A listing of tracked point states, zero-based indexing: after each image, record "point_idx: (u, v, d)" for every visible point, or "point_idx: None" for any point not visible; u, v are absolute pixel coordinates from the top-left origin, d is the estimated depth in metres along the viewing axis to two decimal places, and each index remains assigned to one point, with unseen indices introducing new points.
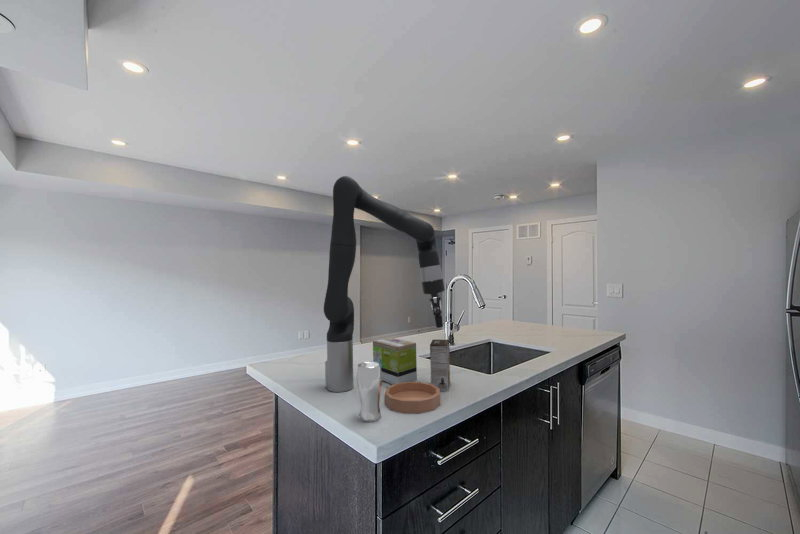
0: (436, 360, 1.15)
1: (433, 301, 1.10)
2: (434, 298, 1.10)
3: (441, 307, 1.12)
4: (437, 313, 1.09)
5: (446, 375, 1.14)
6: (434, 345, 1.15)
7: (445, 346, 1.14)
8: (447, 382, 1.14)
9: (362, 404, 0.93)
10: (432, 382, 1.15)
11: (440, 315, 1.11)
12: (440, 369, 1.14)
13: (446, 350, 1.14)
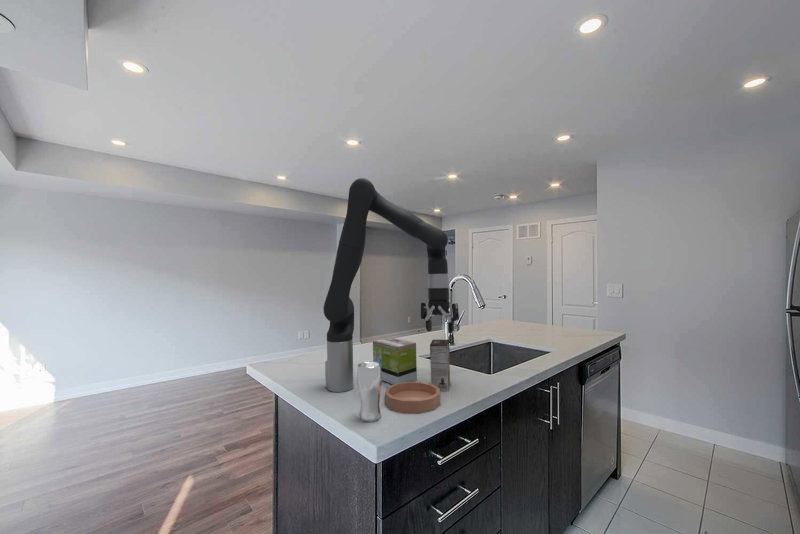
0: (436, 360, 1.15)
1: (455, 307, 1.15)
2: (455, 304, 1.15)
3: None
4: (457, 318, 1.15)
5: (446, 375, 1.14)
6: (434, 345, 1.15)
7: (445, 346, 1.14)
8: (447, 382, 1.14)
9: (362, 404, 0.93)
10: (432, 382, 1.15)
11: (453, 321, 1.17)
12: (440, 369, 1.14)
13: (446, 350, 1.14)
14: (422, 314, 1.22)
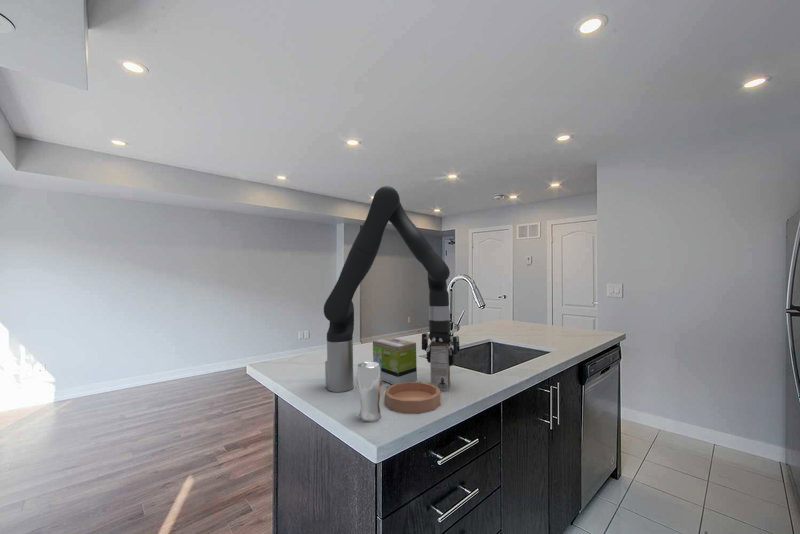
0: (436, 360, 1.15)
1: (456, 340, 1.15)
2: (456, 337, 1.15)
3: None
4: (458, 352, 1.15)
5: (446, 375, 1.14)
6: (434, 345, 1.15)
7: (445, 346, 1.14)
8: (447, 382, 1.14)
9: (362, 404, 0.93)
10: (432, 382, 1.15)
11: None
12: (440, 369, 1.14)
13: (446, 350, 1.14)
14: (423, 345, 1.22)
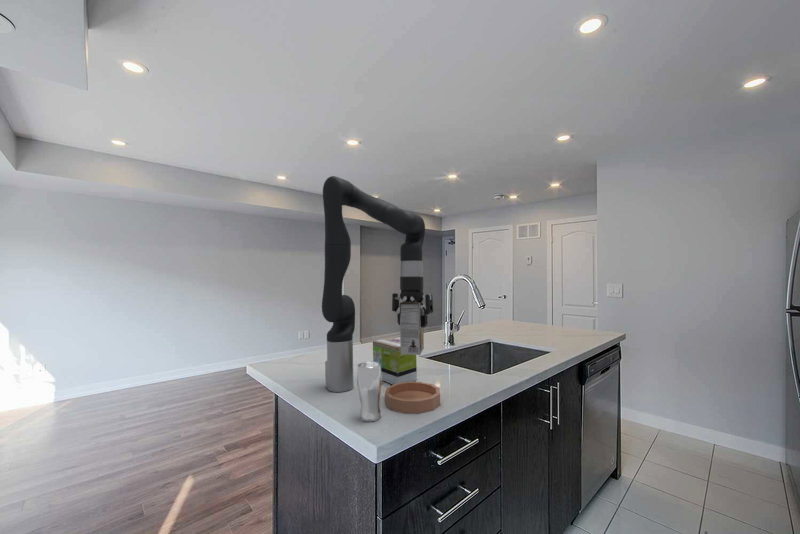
0: (407, 320, 1.02)
1: (429, 298, 1.02)
2: (430, 295, 1.03)
3: None
4: (431, 311, 1.03)
5: (417, 337, 1.02)
6: (404, 303, 1.03)
7: (416, 304, 1.02)
8: (418, 345, 1.02)
9: (362, 404, 0.93)
10: (402, 345, 1.03)
11: (427, 314, 1.04)
12: (411, 330, 1.02)
13: (417, 309, 1.02)
14: (393, 306, 1.09)
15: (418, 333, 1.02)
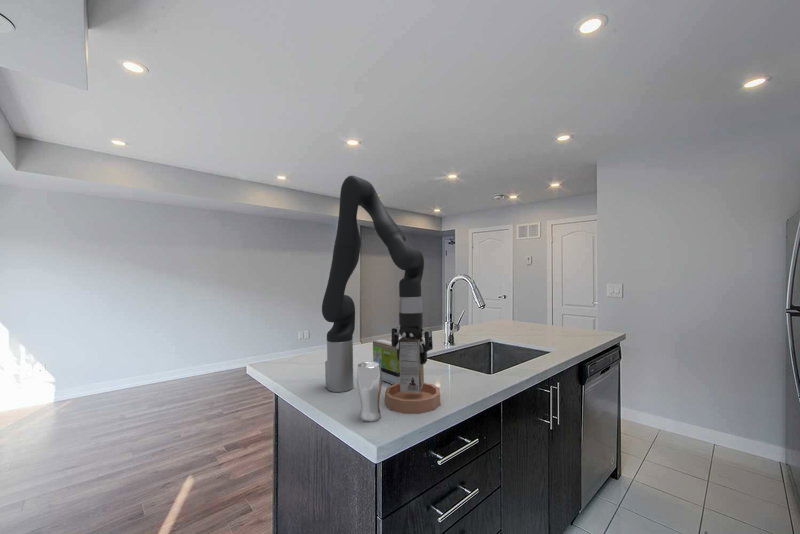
0: (406, 357, 1.01)
1: (428, 335, 1.01)
2: (429, 332, 1.02)
3: (424, 342, 1.05)
4: (430, 348, 1.02)
5: (417, 375, 1.01)
6: (403, 341, 1.02)
7: (415, 342, 1.01)
8: (418, 382, 1.01)
9: (362, 404, 0.93)
10: (401, 383, 1.02)
11: (426, 350, 1.03)
12: (410, 367, 1.01)
13: (417, 346, 1.01)
14: (393, 341, 1.08)
15: (417, 371, 1.01)
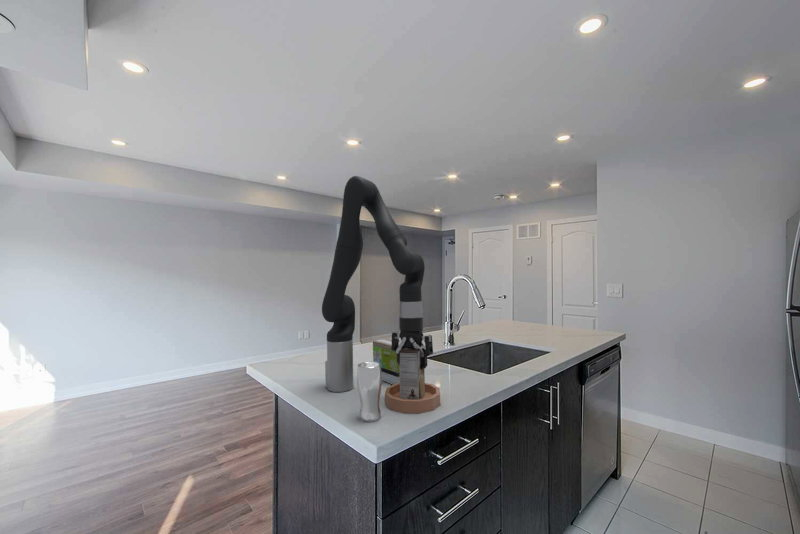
0: (406, 368, 1.01)
1: (429, 340, 1.01)
2: (429, 337, 1.02)
3: (424, 346, 1.05)
4: (430, 353, 1.02)
5: (416, 386, 1.01)
6: (403, 352, 1.02)
7: (415, 353, 1.01)
8: (418, 394, 1.01)
9: (362, 404, 0.93)
10: (401, 393, 1.02)
11: None
12: (410, 379, 1.01)
13: (416, 358, 1.01)
14: (393, 345, 1.08)
15: (417, 382, 1.01)
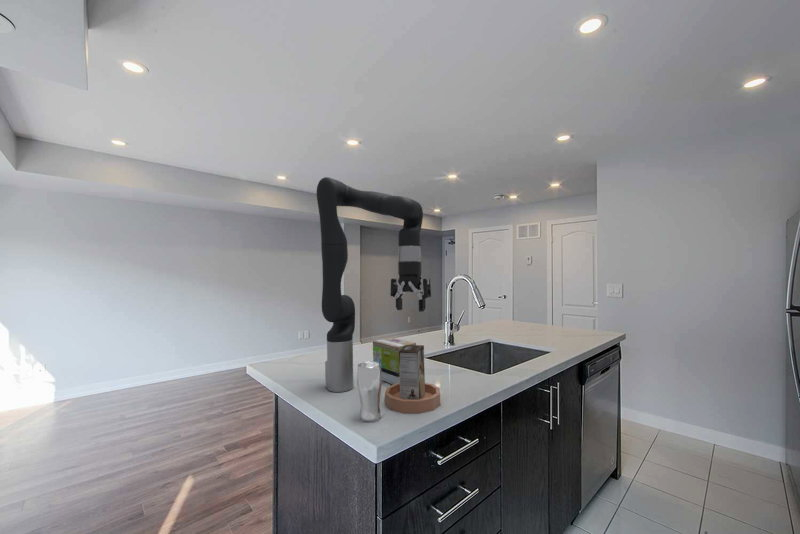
0: (406, 368, 1.01)
1: (427, 282, 1.03)
2: (427, 279, 1.04)
3: None
4: (428, 295, 1.03)
5: (416, 386, 1.01)
6: (403, 352, 1.02)
7: (415, 353, 1.01)
8: (418, 394, 1.01)
9: (362, 404, 0.93)
10: (401, 393, 1.02)
11: None
12: (410, 379, 1.01)
13: (416, 358, 1.01)
14: (392, 291, 1.10)
15: (417, 382, 1.01)
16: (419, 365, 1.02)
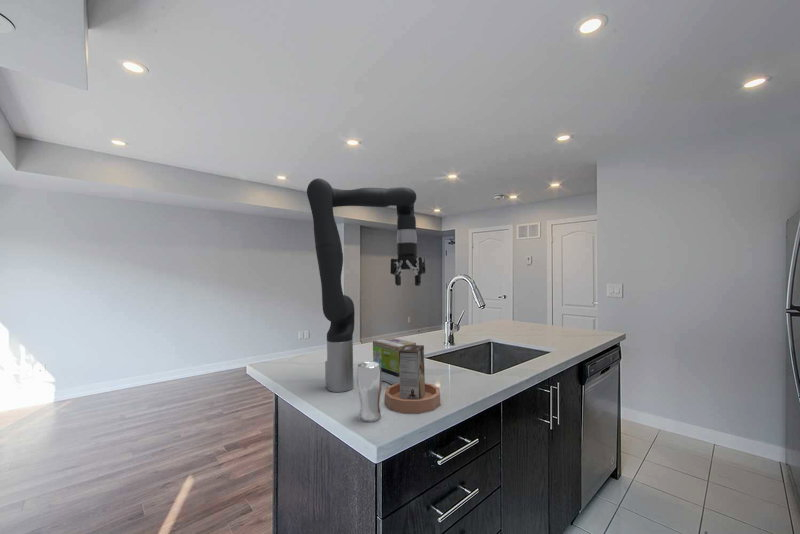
0: (406, 368, 1.01)
1: (422, 260, 1.20)
2: (422, 258, 1.21)
3: (418, 268, 1.24)
4: (423, 271, 1.21)
5: (416, 386, 1.01)
6: (403, 352, 1.02)
7: (415, 353, 1.01)
8: (418, 394, 1.01)
9: (362, 404, 0.93)
10: (401, 393, 1.02)
11: (420, 274, 1.22)
12: (410, 379, 1.01)
13: (416, 358, 1.01)
14: (392, 269, 1.27)
15: (417, 382, 1.01)
16: (419, 365, 1.02)
